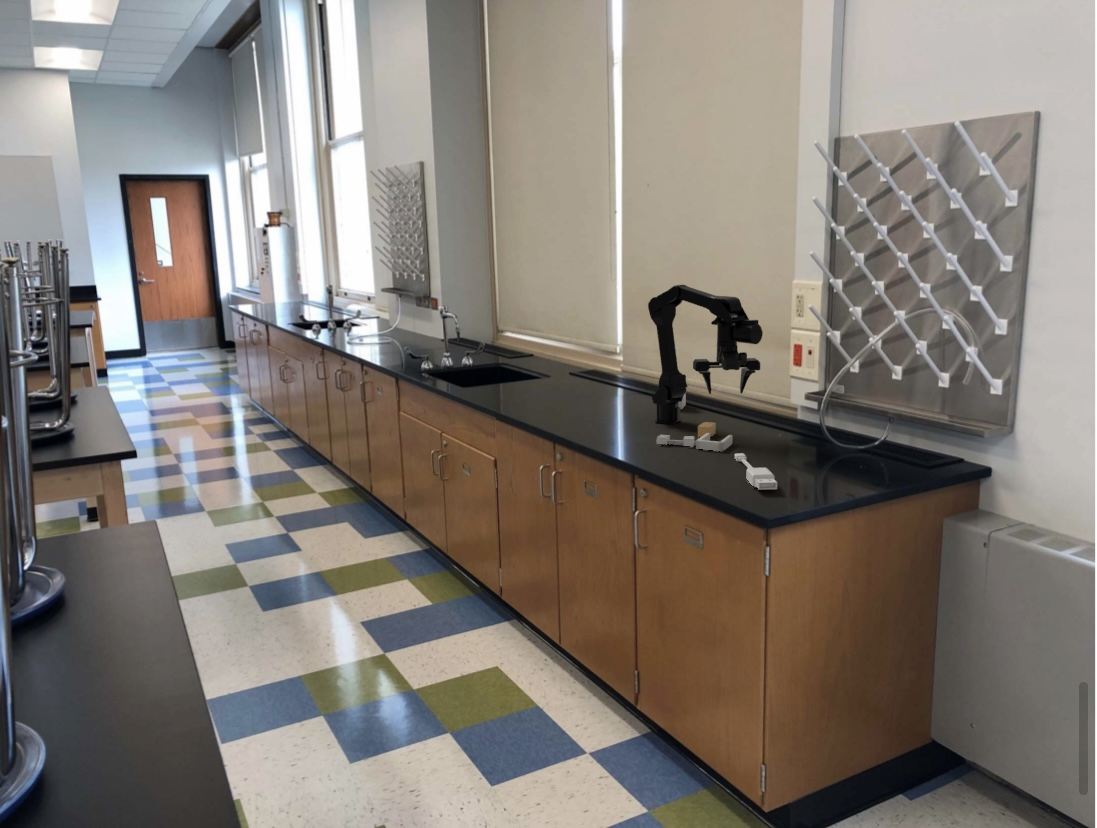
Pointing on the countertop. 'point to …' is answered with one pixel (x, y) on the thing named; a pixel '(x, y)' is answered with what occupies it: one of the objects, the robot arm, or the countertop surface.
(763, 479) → the charging cable
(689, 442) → the clip
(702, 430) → the tan rectangular block
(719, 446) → the end holder
